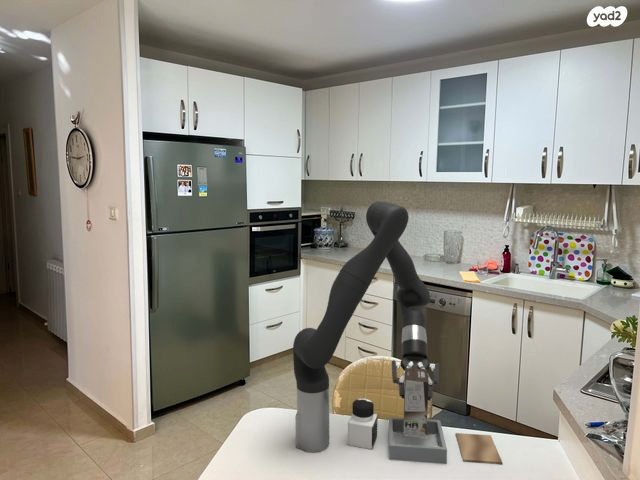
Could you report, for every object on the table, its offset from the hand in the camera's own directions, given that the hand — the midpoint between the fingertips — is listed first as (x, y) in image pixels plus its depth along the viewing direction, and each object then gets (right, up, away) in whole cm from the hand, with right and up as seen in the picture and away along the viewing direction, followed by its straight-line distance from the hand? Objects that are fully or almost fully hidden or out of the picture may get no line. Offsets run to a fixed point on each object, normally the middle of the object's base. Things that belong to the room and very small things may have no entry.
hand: (416, 398), depth 127 cm
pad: (+17, -14, 0) cm, 22 cm away
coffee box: (0, -9, +1) cm, 9 cm away
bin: (0, -14, +1) cm, 14 cm away
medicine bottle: (-15, -14, +4) cm, 21 cm away
